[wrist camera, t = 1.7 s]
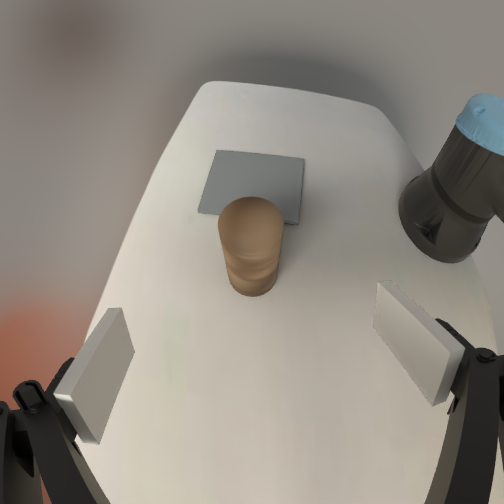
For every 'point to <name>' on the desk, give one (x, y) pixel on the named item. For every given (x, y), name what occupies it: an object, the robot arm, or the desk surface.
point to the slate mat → (254, 182)
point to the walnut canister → (251, 243)
